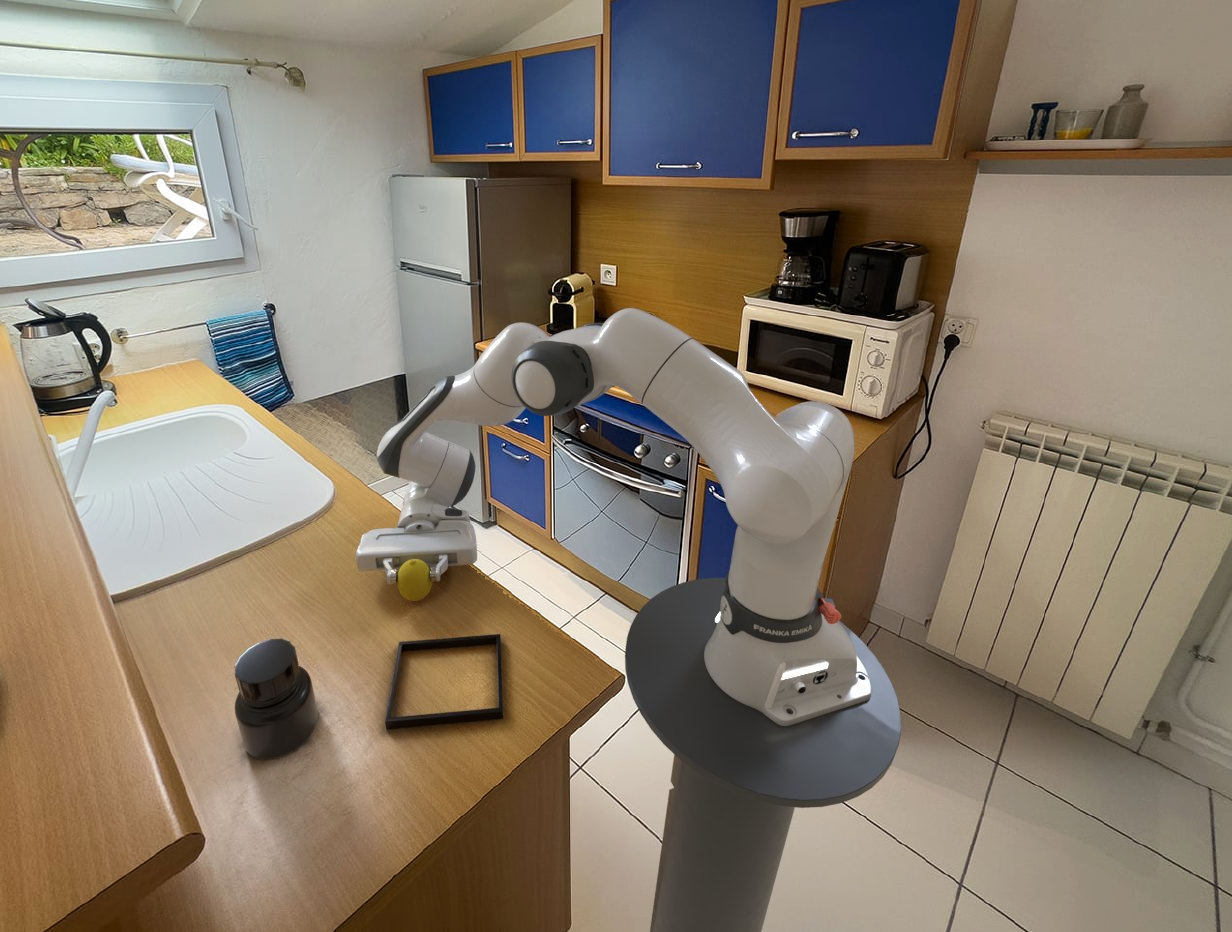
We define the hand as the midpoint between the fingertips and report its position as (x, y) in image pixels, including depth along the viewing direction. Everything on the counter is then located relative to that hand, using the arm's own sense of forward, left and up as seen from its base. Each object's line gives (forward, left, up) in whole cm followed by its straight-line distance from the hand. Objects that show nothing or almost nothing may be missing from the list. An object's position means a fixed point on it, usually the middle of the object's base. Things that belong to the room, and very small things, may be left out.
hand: (413, 579), depth 93 cm
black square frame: (-6, +15, -6) cm, 17 cm away
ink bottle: (+15, +20, -6) cm, 26 cm away
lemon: (0, -1, -5) cm, 5 cm away
